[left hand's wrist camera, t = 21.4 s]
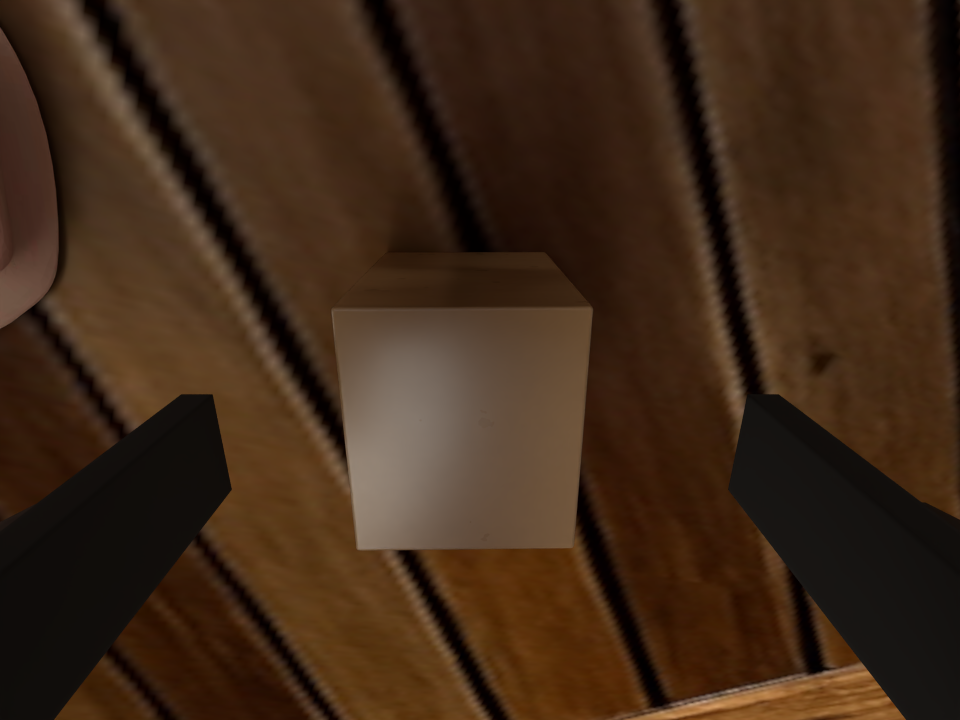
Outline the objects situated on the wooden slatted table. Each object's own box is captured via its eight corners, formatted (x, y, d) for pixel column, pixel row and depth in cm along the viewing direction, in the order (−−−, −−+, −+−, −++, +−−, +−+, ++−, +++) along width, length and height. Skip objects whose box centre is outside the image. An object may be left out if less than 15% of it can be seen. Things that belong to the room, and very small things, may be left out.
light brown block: (396, 417, 21) (355, 552, 14) (385, 252, 19) (329, 307, 12) (538, 416, 22) (574, 549, 14) (545, 251, 19) (594, 306, 12)
